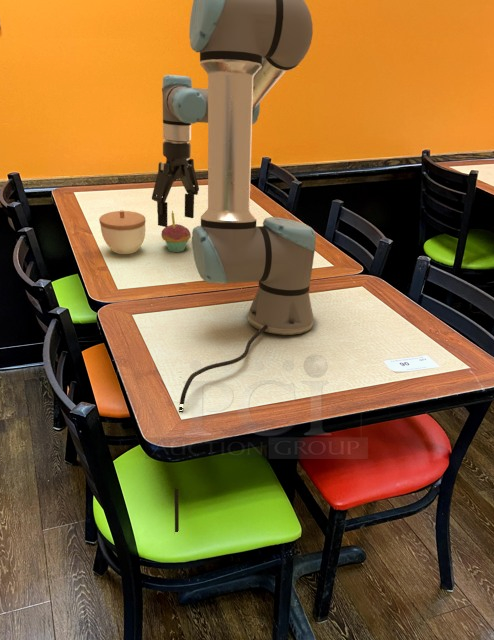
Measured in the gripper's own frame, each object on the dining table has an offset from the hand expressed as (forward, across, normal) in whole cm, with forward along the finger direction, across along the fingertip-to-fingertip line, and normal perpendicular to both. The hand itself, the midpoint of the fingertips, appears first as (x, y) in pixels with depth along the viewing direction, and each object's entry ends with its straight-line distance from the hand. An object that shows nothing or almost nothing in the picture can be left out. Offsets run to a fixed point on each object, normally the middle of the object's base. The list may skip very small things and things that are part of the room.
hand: (176, 221), depth 164 cm
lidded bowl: (+8, +10, -10) cm, 17 cm away
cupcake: (+8, 0, 0) cm, 8 cm away
